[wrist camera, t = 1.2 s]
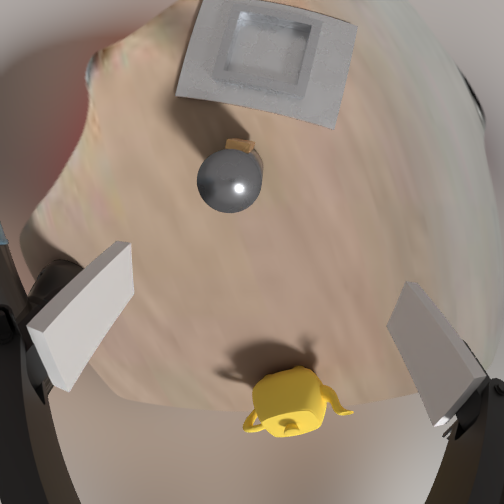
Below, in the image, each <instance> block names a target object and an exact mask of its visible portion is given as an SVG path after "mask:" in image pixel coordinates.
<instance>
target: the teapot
mask: <svg viewBox="0 0 504 504" xmlns="http://www.w3.org/2000/svg"><path fill="white" fill-rule="evenodd" d="M252 397H253V404H254V408H255V409H254V410H253V411H252V412H251V414H250V415H249V416H248V417H247V419H246V420H245V422H244V424H243V430H244V431H246V432H257V431H260V430H264V429H266V430H267V431H268V432H269V433H270V434H272V435H274V436H275V437H289V436H294V435H300V434H304V433H307V432H310V431H313V430H315V429H317V428H319V427H320V426H321V424H322V421H323V418H324V415H325V411H326V405H327V402H330V403H331V405H332V408H333V410H334V412H335V413H337V414H338V415H349V414H352V413H354V412H353V411H350V410H346V409H344V408H343V407H342V406H341V404H340V402H339V399H338V397H337V395H336V393H335V391H334V390H333V389H332V388H330V387H328V386H326V385H323V384H322V382H321V381H320V379H319V378H318V377H317V376H316V374H315V373H314V372H313V371H311V370H310V369H307V368H304V367H303V366H295V367H294V368H293V369H290V370H285V371H281V372H277V373H275V374H268V375H265V376H264V378H263V379H261V380H260V381H259V382H258V383H257V384H256V385H255V387H254V388H253V391H252ZM257 416H258V418H259V420H260V422H261V424H259V425H255V426H253V423H254V421H255V419H256V418H257Z"/></svg>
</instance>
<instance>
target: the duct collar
mask: <svg viewBox="0 0 504 504" xmlns="http://www.w3.org/2000/svg"><path fill="white" fill-rule="evenodd" d="M357 27H358V26H355V25H353V24H350V23H347V22H344V21H341V20H338V19H335V18H332V17H329V16H326V15H322V14H319V13H315V12H311V11H308V10H304V9H300V8H295V7H291V6H287V5H282V4H277V3H271V2H265V1H259V0H203V3H202V5H201V8H200V11H199V14H198V17H197V20H196V23H195V26H194V29H193V32H192V35H191V39H190V42H189V45H188V49H187V52H186V56H185V59H184V63H183V67H182V70H181V74H180V78H179V82H178V86H177V90H176V94H175V96H177V97H183V98H192V99H199V100H206V101H213V102H219V103H225V104H231V105H236V106H241V107H246V108H251V109H256V110H261V111H265V112H270V113H274V114H278V115H282V116H286V117H290V118H294V119H297V120H301V121H305V122H308V123H312V124H315V125H318V126H322V127H325V128H328V129H331V130H334V128H335V124H336V120H337V116H338V112H339V108H340V104H341V100H342V96H343V92H344V88H345V83H346V79H347V75H348V70H349V66H350V61H351V57H352V52H353V47H354V42H355V38H356V33H357Z"/></svg>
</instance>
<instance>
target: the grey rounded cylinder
mask: <svg viewBox="0 0 504 504" xmlns="http://www.w3.org/2000/svg"><path fill="white" fill-rule="evenodd" d="M254 145H255V142H253V141H248V140H244V139H239V138H233V139H227V141H226V145H225V148H226V149H224V150H221V151H218V152H215V153H213V154H212V155H210V156H209V157H208V158H207V159H206V160H205V161H204V162H203V163H202V165H201V167H200V169H199V171H198V175H197V186H198V190H199V193H200V195H201V197H202V199H203V200H204V201H205V202H206V203H207V204H208V205H209V206H210V207H211V208H213V209H215V210H217V211H220V212H224V213H235V212H239V211H242V210H244V209H246V208H248V207H249V206H250V205H252V204H253V203H254V201H255V200H256V199H257V197H258V195H259V193H260V190H261V185H262V176H263V162H262V159H261V157H260V155H259V154H258V153H257V152H256V151H255V150H254Z"/></svg>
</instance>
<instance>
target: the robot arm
mask: <svg viewBox="0 0 504 504" xmlns="http://www.w3.org/2000/svg"><path fill="white" fill-rule="evenodd" d="M8 243H9V242H8V240H7V239H6V238H5V234H4V232H3V228H2V225H1V223H0V500H1V503H2V504H81V502H80V500H79V498H78V496H77V493H76V491H75V488H74V486H73V484H72V481H71V478H70V476H69V473H68V471H67V467H66V465H65V462H64V459H63V456H62V452H61V449H60V446H59V443H58V439H57V435H56V431H55V427H54V423H53V419H52V415H51V411H50V406H49V401H48V394H49V393H50V391H51V389H52V388H53V386H56V387H59V388H61V389H63V390H65V391H67V392H70V390H71V388H72V387H73V385H74V384H75V382H76V380H77V379H78V377H79V375H80V374H81V372H82V371H83V369H84V367H85V365H86V364H87V363H88V361H89V359H90V358H91V356H92V355H93V353H94V352H95V350H96V349H97V347H98V346H99V344H100V342H101V341H102V339H103V338H104V336H105V335H106V333H107V332H108V331H109V329H110V328H111V326H112V325H113V323H114V322H115V320H116V319H117V317H118V316H119V315H120V313H121V312H122V310H123V309H124V307H125V306H126V305H127V303H128V302H129V300H130V299H131V298H132V296H133V295H134V285H133V272H132V256H131V243H128V242H122V241H116V242H115V243H113V244H112V245H111V246H110V247H109V248H108V249H106V250H105V251H104V252H103V253H102V254H100V255H99V256H98V257H97V258H96V259H95V260H94V261H92V262H91V263H90V264H89V265H88V266H87V267H86V268H85V269H82V268H81V267H79V266H78V265H76V264H74V263H72V262H69V261H66V260H56V261H53V262H51V263H50V264H49V265H47V266H46V267H45V268H44V269H43V270H42V271H41V272H40V274H39V275H38V278H37V281H36V282H35V283H34V285H33V287H32V289H31V290H30V293H29V294H28V296H27V294H26V292H25V290H24V287H23V285H22V283H21V280H20V278H19V275H18V272H17V270H16V267H15V264H14V262H13V259H12V256H11V253H10V250H9V247H8ZM387 328H388V330H389V332H390V334H391V336H392V338H393V340H394V342H395V344H396V346H397V348H398V350H399V352H400V354H401V356H402V358H403V360H404V362H405V364H406V366H407V368H408V370H409V372H410V375H411V377H412V379H413V381H414V383H415V385H416V388H417V390H418V392H419V394H420V397H421V399H422V401H423V403H424V406H425V408H426V410H427V413H428V415H429V418H430V420H431V423H432V425H433V427H434V426H439V425H443V424H446V423H447V422H448V421H449V420H450V419H451V418H452V417H453V416H454V415H455V414H456V416H457V420H456V421H455V423H454V424H453V425H452V426H451V427H450V428H449V429H448V430H447V431H446V432H445V433H444V434H443V436H442V437H445V436H446V435H447V434H448V433H449V432H450V433H451V434H450V436H449V437H448V438H447V439H448V440H449V441H448V444H447V447H446V451H445V454H444V457H443V459H442V462H441V465H440V468H439V471H438V473H437V476H436V478H435V481H434V483H433V486H432V488H431V491H430V493H429V495H428V497H427V500H426V502H425V504H504V382H503V381H502V380H500V379H497V378H494V379H492V380H491V379H490V378H489V376H488V375H487V373H486V371H485V370H484V368H483V367H482V365H481V364H480V362H479V361H478V359H477V358H475V355H474V353H473V352H471V349H470V348H469V346H468V345H467V344H466V342H465V341H464V340H462V339H461V337H460V336H459V335H458V333H457V332H456V331H455V329H454V328H453V327H452V325H451V324H450V323H449V321H448V320H447V319H446V317H445V316H444V315H443V314H442V312H441V311H440V310H439V309H438V307H437V306H436V305H435V304H434V302H433V301H432V300H431V299H430V297H429V296H428V295H427V294H426V293H425V291H424V290H423V289H422V288H421V287H420V285H419V284H418V283H415V282H407V281H406V282H405V284H404V287H403V289H402V292H401V294H400V297H399V299H398V301H397V304H396V306H395V308H394V311H393V313H392V315H391V317H390V319H389V322H388V324H387Z"/></svg>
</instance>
